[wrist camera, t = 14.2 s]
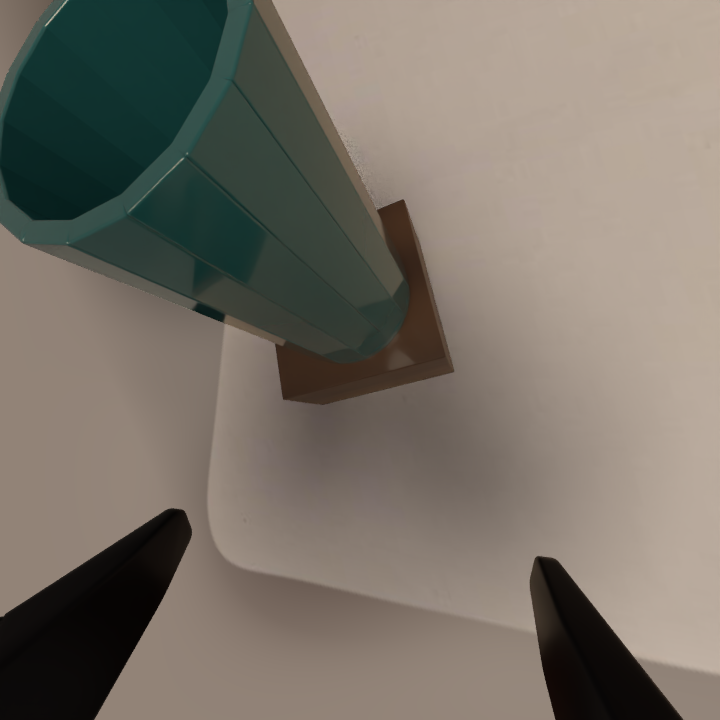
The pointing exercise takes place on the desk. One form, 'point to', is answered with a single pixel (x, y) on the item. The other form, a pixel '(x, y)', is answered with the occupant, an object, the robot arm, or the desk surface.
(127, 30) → the tumbler
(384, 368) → the block
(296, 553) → the desk surface
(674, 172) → the desk surface
